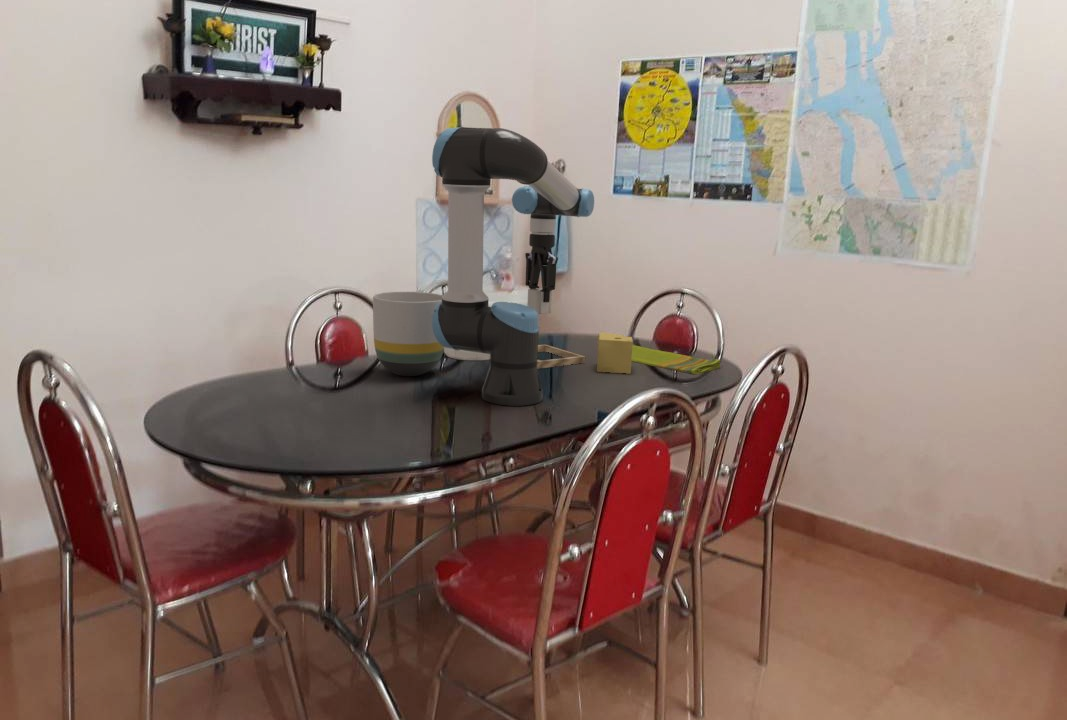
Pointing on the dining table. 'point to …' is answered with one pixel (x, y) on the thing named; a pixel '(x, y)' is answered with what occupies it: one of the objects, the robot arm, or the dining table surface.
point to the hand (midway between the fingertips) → (538, 311)
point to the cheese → (614, 353)
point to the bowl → (466, 355)
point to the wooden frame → (567, 360)
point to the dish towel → (673, 360)
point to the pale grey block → (536, 300)
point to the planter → (406, 332)
